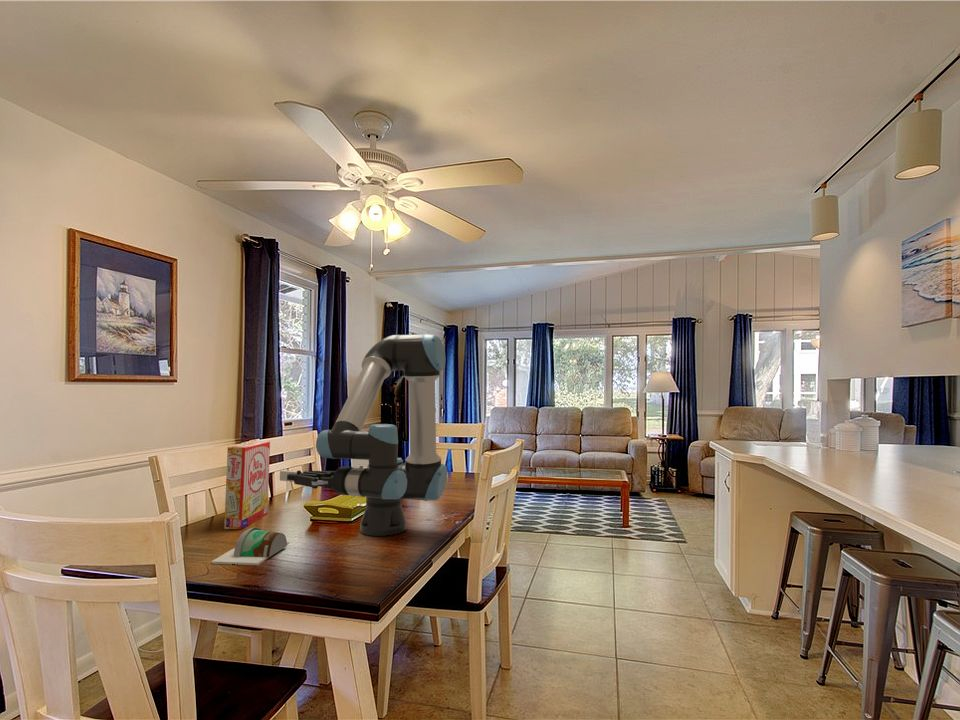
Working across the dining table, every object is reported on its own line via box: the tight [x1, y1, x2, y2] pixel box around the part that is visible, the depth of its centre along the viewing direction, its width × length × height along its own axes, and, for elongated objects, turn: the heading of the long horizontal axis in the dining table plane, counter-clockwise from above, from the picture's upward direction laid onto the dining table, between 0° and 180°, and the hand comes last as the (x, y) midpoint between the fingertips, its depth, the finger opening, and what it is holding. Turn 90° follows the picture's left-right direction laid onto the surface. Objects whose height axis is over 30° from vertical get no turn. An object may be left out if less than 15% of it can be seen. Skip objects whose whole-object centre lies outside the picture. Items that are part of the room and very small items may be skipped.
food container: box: [234, 526, 288, 558], centre depth 143 cm, size 12×6×10 cm
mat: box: [210, 541, 290, 566], centre depth 142 cm, size 13×18×1 cm
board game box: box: [223, 440, 271, 530], centre depth 175 cm, size 20×6×27 cm, turn 0°
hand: (281, 475), depth 143 cm, fingers closed
